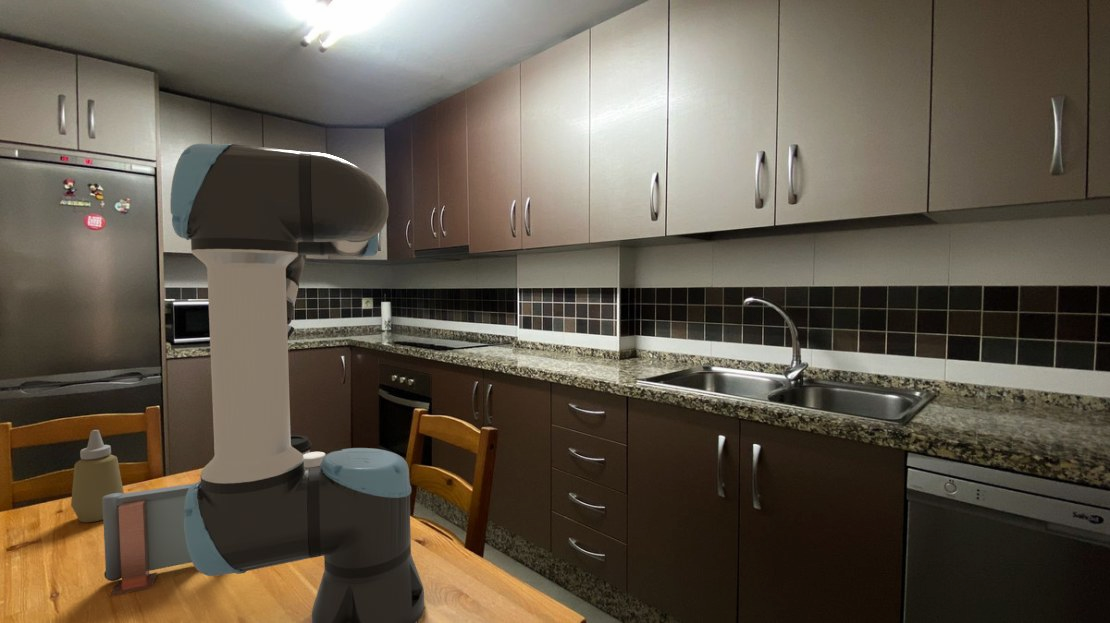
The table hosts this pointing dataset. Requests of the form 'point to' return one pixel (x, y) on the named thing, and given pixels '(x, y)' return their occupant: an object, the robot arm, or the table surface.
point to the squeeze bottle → (94, 479)
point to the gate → (149, 528)
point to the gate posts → (133, 549)
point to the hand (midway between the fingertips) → (246, 413)
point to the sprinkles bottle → (313, 459)
